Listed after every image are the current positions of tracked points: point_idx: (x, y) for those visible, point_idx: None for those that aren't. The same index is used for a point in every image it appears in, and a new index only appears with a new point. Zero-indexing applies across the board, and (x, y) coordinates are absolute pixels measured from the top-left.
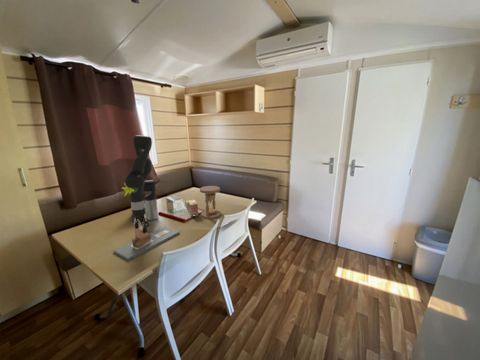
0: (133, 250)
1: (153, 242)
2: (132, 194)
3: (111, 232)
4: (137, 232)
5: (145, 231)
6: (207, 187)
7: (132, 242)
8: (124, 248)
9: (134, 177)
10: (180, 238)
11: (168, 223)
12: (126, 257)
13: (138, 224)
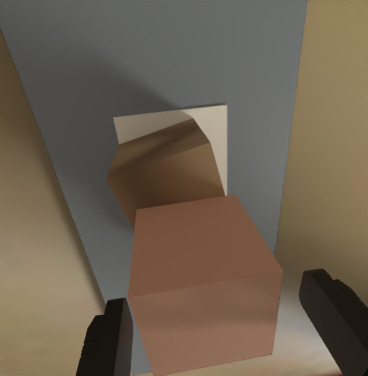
0: (118, 86)
1: (123, 250)
2: None
3: None
4: (184, 261)
5: (94, 339)
6: None
7: (200, 129)
8: (234, 40)
9: None
10: (73, 349)
11: (286, 361)
12: None
13: (343, 373)
